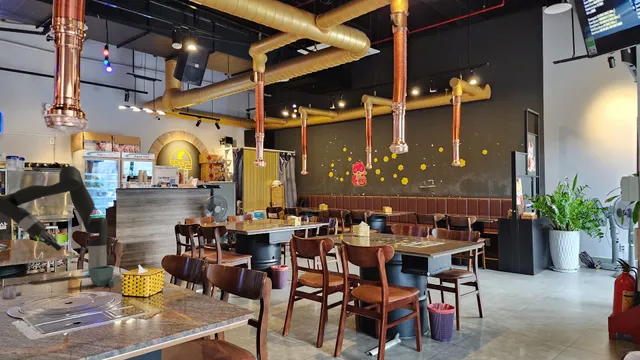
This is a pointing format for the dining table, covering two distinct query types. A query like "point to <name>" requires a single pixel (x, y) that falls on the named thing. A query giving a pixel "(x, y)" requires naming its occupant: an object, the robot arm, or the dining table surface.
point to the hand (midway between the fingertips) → (60, 249)
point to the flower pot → (101, 275)
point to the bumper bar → (114, 281)
